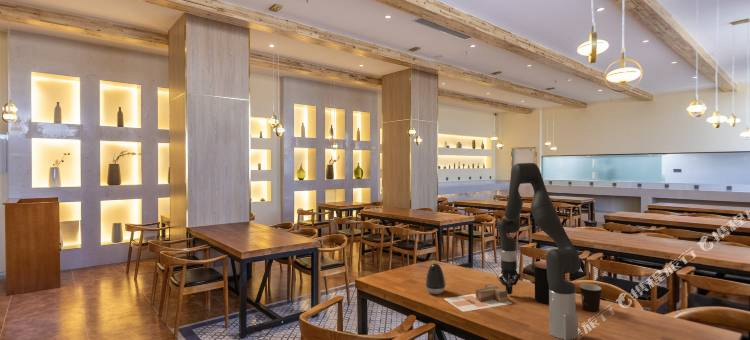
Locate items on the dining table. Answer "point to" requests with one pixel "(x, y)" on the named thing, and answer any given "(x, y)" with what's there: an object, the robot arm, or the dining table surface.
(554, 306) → the robot arm
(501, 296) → the t block
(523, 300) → the dining table surface
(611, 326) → the dining table surface
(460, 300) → the mat
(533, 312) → the dining table surface
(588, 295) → the coffee mug
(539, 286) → the coffee jar
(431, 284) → the black egg-shaped piece
